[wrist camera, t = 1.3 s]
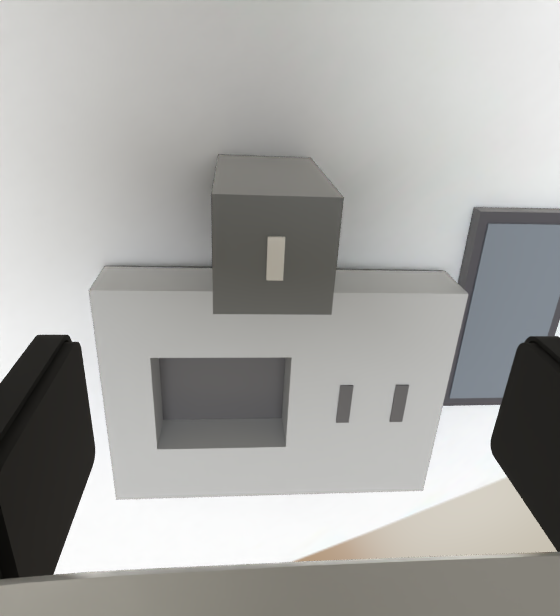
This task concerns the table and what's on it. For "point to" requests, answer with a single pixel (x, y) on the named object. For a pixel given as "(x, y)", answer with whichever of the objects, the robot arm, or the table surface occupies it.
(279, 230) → the block
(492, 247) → the phone
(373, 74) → the table surface
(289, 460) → the outlet plate
